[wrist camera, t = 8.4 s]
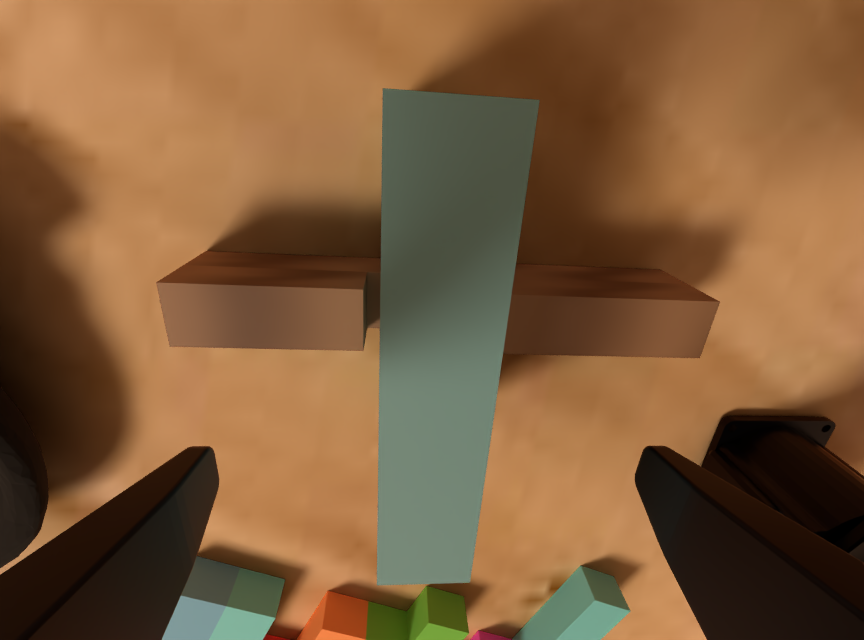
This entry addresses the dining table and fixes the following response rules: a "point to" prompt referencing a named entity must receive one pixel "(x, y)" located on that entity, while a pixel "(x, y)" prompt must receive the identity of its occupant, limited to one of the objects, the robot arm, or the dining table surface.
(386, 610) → the tetris game
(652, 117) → the dining table surface
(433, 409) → the teal plate
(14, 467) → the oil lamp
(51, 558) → the robot arm
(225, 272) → the walnut rail
